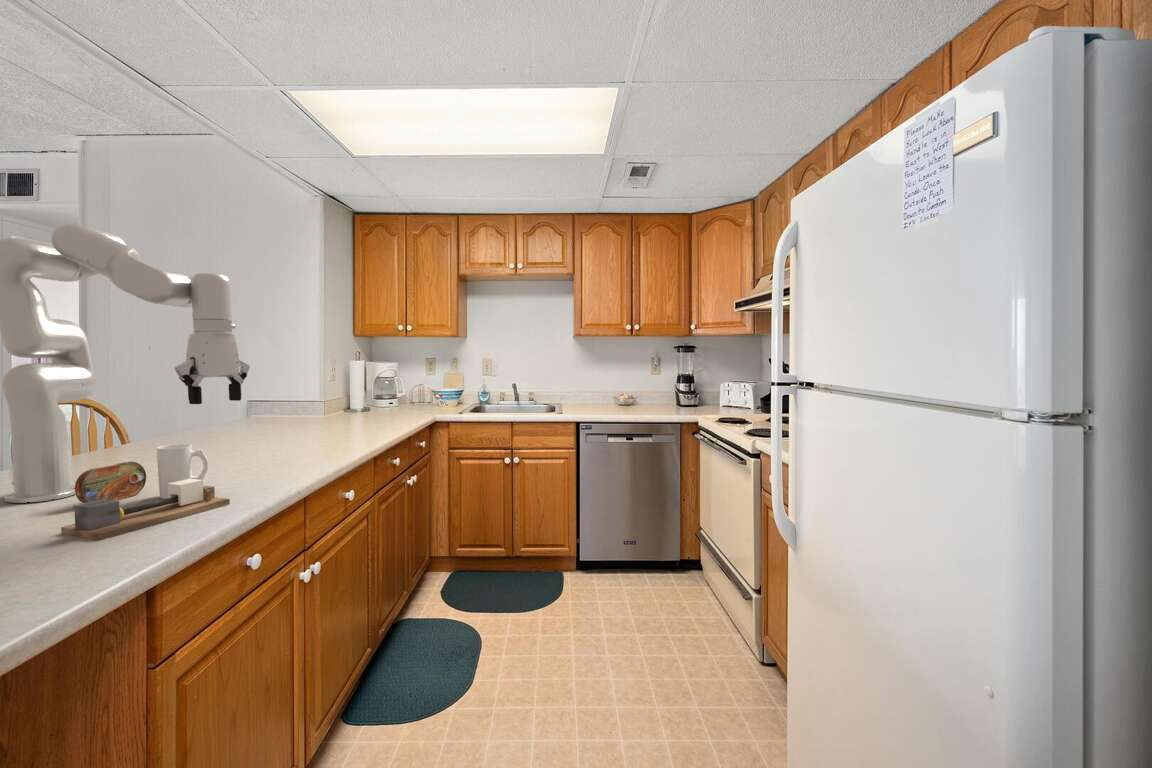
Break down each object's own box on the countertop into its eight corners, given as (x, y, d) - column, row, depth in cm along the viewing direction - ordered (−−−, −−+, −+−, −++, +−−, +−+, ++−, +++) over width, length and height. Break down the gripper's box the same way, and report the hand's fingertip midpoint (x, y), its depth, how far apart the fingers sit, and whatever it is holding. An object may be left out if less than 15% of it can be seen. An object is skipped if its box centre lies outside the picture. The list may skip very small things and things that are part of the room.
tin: (84, 509, 121) (82, 471, 121) (72, 508, 122) (70, 471, 121) (148, 492, 136) (146, 458, 136) (137, 492, 137) (136, 458, 136)
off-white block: (168, 503, 121) (167, 483, 120) (190, 498, 125) (190, 478, 125) (181, 505, 119) (180, 485, 119) (203, 499, 124) (202, 480, 124)
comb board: (61, 533, 105) (60, 504, 105) (195, 499, 130) (194, 475, 130) (99, 540, 102) (97, 510, 101) (229, 504, 126) (228, 479, 126)
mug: (155, 500, 129) (153, 449, 128) (161, 494, 134) (159, 445, 134) (207, 495, 133) (206, 446, 133) (210, 489, 139) (209, 442, 139)
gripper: (235, 329, 137) (238, 398, 138) (162, 327, 121) (166, 405, 122) (257, 329, 134) (260, 399, 135) (186, 326, 118) (190, 406, 119)
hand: (216, 402), depth 128 cm, fingers open, 9 cm apart
